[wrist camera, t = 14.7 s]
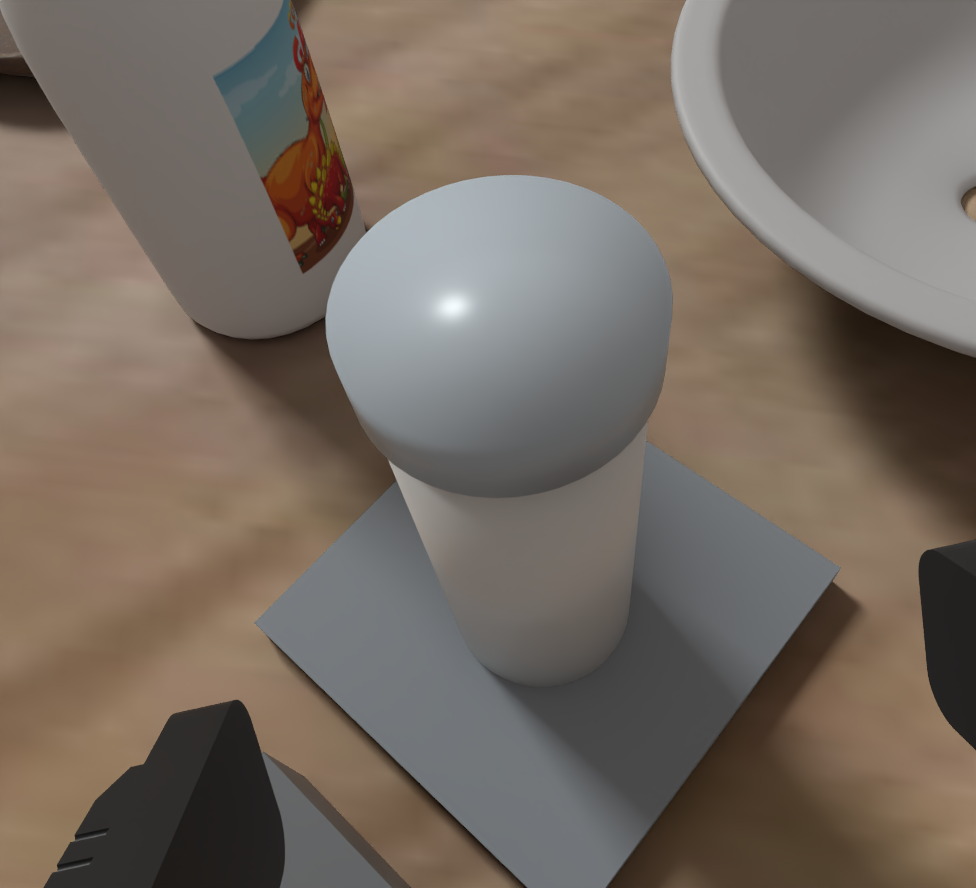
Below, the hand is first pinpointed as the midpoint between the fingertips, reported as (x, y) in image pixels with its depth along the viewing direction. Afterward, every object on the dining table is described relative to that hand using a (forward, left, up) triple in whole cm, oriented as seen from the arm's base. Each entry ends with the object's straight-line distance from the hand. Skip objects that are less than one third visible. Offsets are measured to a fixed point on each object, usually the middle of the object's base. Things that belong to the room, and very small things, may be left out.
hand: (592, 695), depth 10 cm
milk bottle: (-22, +8, -15) cm, 28 cm away
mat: (-5, +4, -15) cm, 16 cm away
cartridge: (-5, +4, -14) cm, 15 cm away
